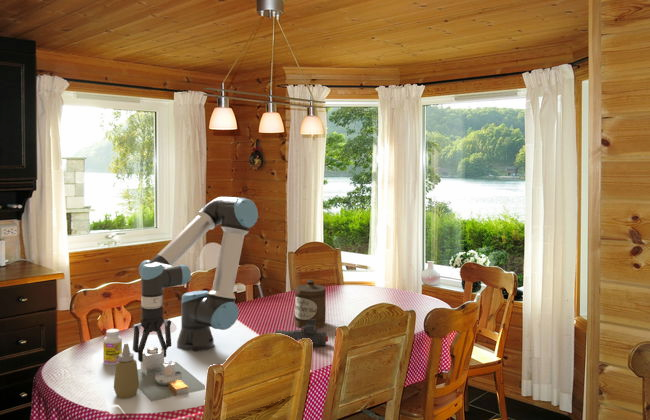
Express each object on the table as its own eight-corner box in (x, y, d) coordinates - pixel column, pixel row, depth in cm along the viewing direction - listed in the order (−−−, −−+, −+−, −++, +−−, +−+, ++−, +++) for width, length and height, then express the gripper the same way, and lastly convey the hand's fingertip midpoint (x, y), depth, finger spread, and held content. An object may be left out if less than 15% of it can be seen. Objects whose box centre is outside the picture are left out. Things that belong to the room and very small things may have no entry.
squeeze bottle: (108, 398, 193) (107, 346, 191) (124, 389, 201) (124, 338, 199) (128, 403, 190) (127, 349, 188) (144, 393, 198) (144, 342, 196)
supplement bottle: (102, 366, 221) (102, 333, 220) (104, 360, 228) (103, 328, 226) (121, 365, 223) (121, 332, 222) (122, 359, 229) (122, 327, 228)
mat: (176, 363, 227) (176, 361, 226) (208, 390, 202) (208, 388, 202) (124, 373, 215) (124, 371, 215) (151, 403, 191) (151, 401, 191)
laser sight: (277, 340, 258) (277, 318, 257) (328, 342, 257) (328, 320, 256) (274, 347, 249) (274, 324, 248) (327, 349, 248) (327, 326, 247)
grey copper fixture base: (151, 379, 208) (151, 362, 208) (175, 374, 213) (175, 357, 213) (169, 397, 194) (169, 378, 193) (194, 391, 199) (194, 373, 199)
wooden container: (288, 325, 281) (289, 280, 279) (306, 318, 293) (307, 275, 291) (313, 331, 272) (314, 284, 270) (331, 323, 284) (332, 279, 282)
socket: (157, 368, 219) (157, 345, 218) (163, 373, 214) (163, 349, 213) (141, 371, 216) (141, 347, 215) (146, 377, 211) (146, 352, 210)
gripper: (128, 312, 204) (129, 376, 206) (181, 305, 215) (181, 366, 217) (122, 307, 210) (122, 369, 212) (173, 300, 221) (173, 359, 223)
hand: (152, 367), depth 215 cm, fingers closed on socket, 6 cm apart
